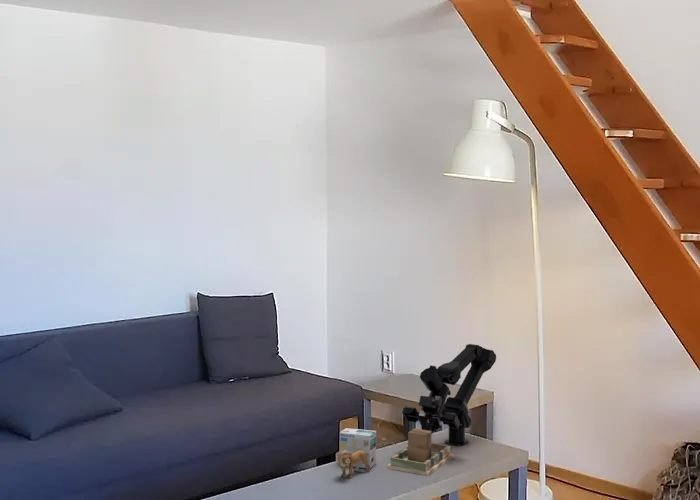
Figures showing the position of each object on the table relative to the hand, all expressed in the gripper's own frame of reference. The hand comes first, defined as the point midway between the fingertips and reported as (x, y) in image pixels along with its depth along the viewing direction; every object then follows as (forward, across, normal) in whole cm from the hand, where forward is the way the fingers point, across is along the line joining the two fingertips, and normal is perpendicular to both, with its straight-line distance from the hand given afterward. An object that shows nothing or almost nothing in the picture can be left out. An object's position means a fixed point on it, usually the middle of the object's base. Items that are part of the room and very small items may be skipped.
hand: (423, 439), depth 272 cm
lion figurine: (+21, -13, -11) cm, 27 cm away
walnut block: (+6, 0, +2) cm, 6 cm away
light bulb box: (+15, -17, -5) cm, 23 cm away
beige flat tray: (+6, 0, +4) cm, 7 cm away
